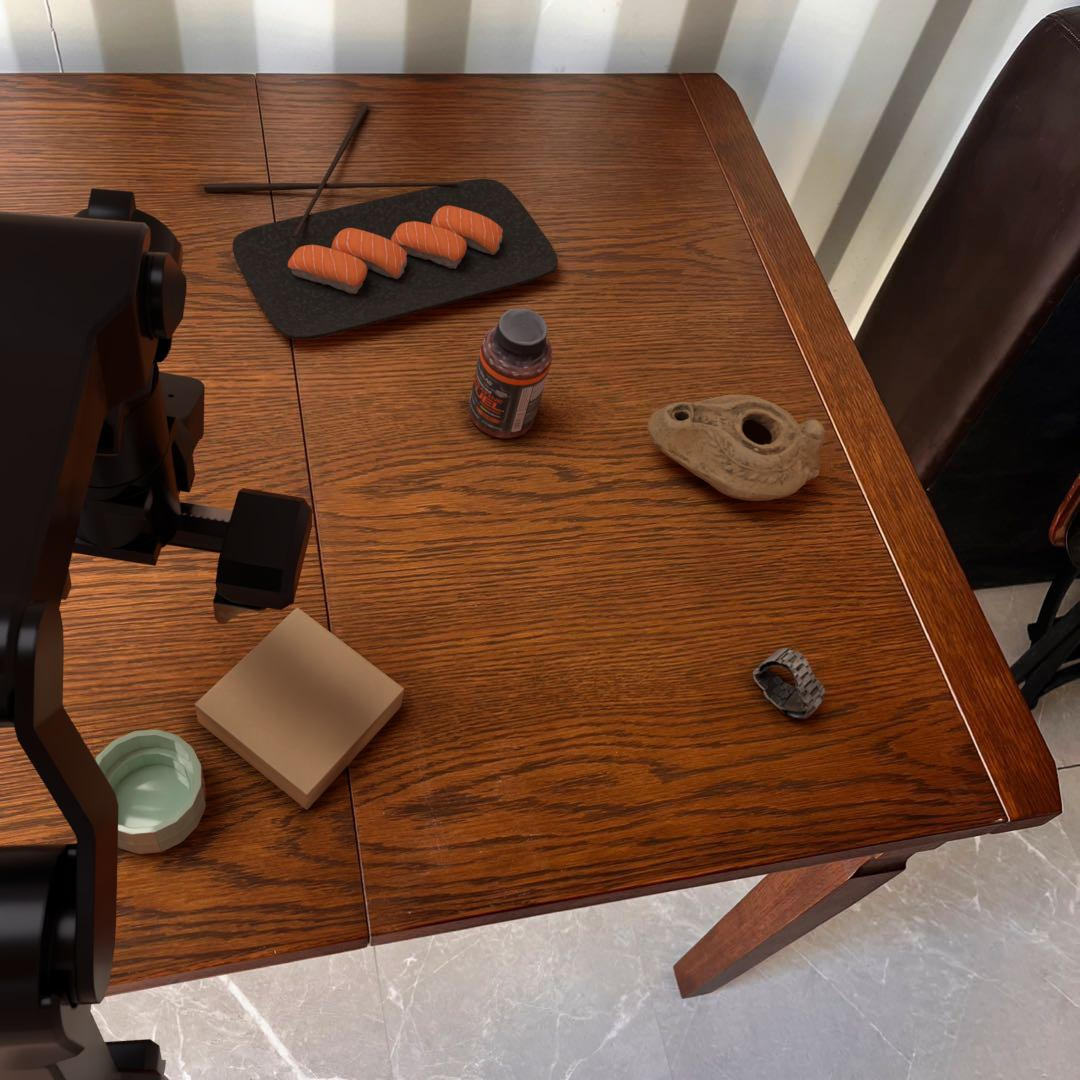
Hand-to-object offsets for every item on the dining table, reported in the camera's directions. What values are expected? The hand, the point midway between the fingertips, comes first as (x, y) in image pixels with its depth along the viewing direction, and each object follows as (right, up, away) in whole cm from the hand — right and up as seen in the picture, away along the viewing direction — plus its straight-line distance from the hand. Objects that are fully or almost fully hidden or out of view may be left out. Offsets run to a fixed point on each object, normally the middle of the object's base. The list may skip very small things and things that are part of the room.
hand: (145, 604), depth 64 cm
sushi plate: (+6, +36, +42) cm, 55 cm away
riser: (+7, -8, +13) cm, 17 cm away
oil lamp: (+40, +10, +32) cm, 52 cm away
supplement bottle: (+20, +15, +31) cm, 40 cm away
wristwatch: (+42, -8, +21) cm, 48 cm away
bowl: (-2, -14, +7) cm, 16 cm away
